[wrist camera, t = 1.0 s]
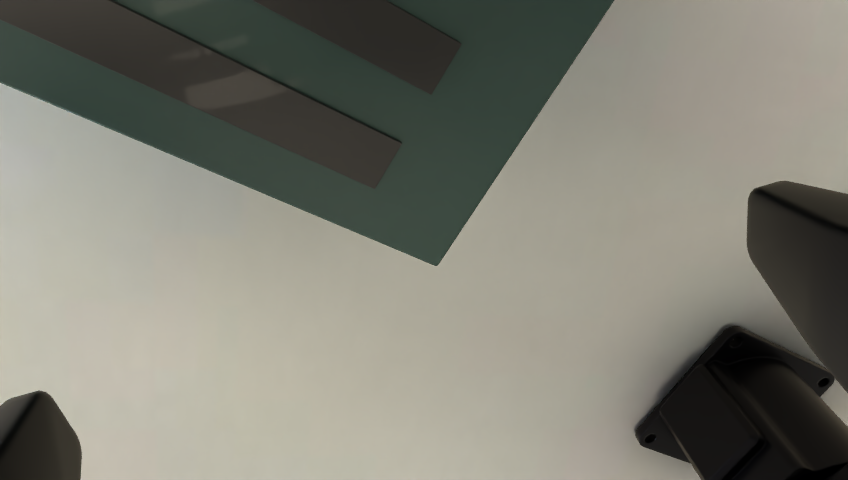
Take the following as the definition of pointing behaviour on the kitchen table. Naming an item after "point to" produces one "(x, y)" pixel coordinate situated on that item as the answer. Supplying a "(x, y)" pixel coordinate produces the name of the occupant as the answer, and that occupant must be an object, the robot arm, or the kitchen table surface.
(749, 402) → the robot arm
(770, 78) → the kitchen table surface
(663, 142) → the kitchen table surface
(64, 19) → the toaster
